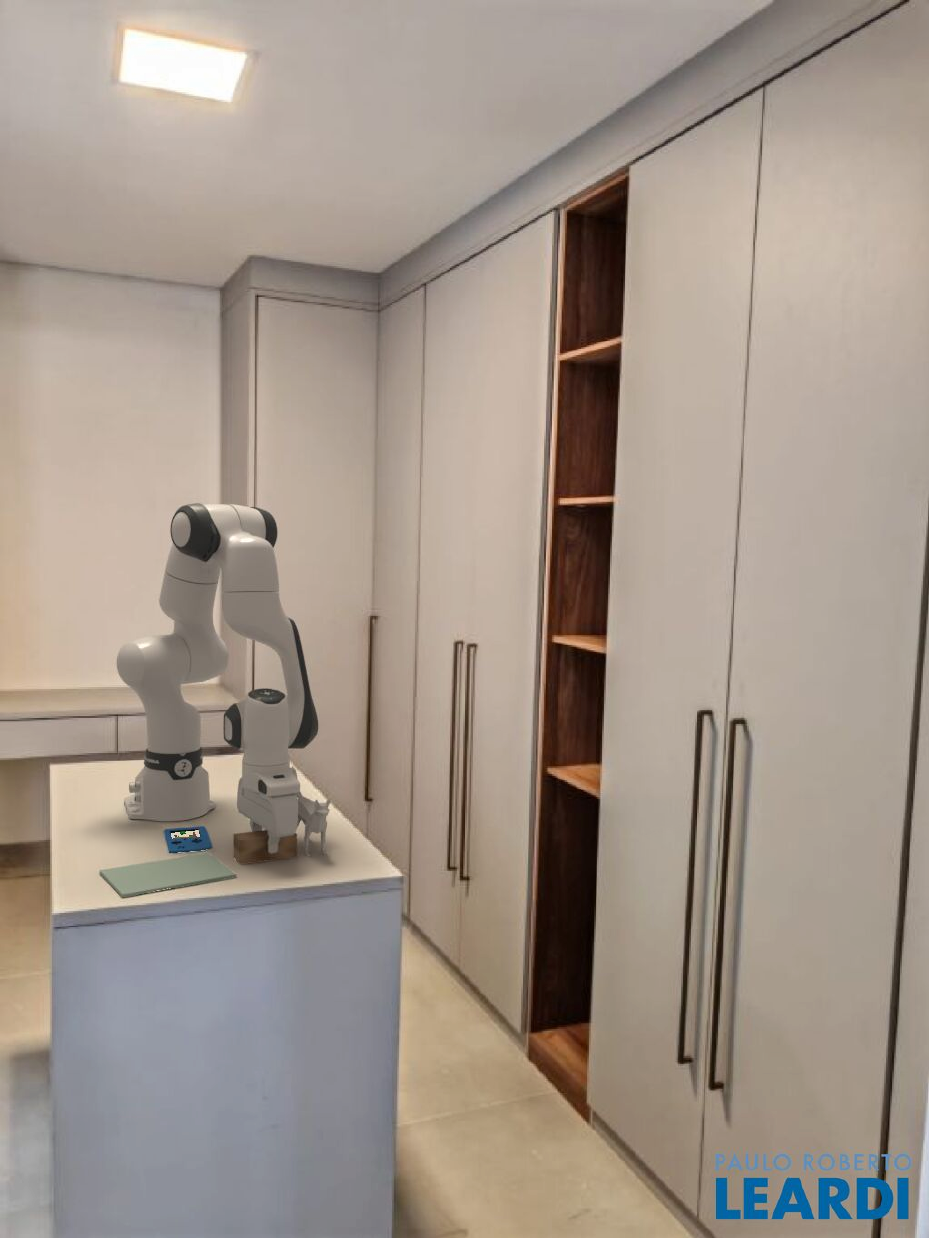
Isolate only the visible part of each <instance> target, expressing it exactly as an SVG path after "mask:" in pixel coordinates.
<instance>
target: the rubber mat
mask: <svg viewBox="0 0 929 1238" xmlns="http://www.w3.org/2000/svg"><path fill="white" fill-rule="evenodd" d="M99 874H100V876H101V877H102V878H103V879H104V880H105V881H106V882H107V883H108V884H109V886H111V887H112V888H113V890H114V891H115V892H116V893H117V892H118V893H117V894H118V895H119V896H120V897H121V898H122V897H125V898H129V897H135V896H136V895H137V896H140V895H139V894H142V895H145V894H144V893H148V892H153V891H157V890H163V889H167V888H168V889H169V888H175V889H180V888H179V887H181V888H184V887H183V886H186V887H191V886H190V885H192V886H197V885H202V883H203V884H207V882H208V883H212V882H213V881H214V882H219V881H225V880H229V878H230V879H235V878H237V873H236V872H234V871H233V870H232V869H230V868H229V867H227V866H226V865H225V864H223V862H221V861H220V860H218V859H217V858H215V856H213V855H212V854H210V853H209V852H203V853H202V852H201V853H197V854H190V855H186V856H179V857H178V856H177V857H172V858H165V859H159V860H154V861H149V862H141V863H135V864H129V865H123V866H118V867H117V866H116V867H112V868H105V869H99ZM224 879H225V880H224ZM196 884H197V885H196ZM153 893H154V892H153ZM148 894H149V893H148Z"/></svg>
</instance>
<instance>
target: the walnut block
mask: <svg viewBox="0 0 929 1238" xmlns="http://www.w3.org/2000/svg"><path fill="white" fill-rule="evenodd" d="M262 830H263V831H254V832H252V831H248V832H239V833H233V837H232V840H233V843H232V845H233V846H232V847H233V848H232V852H233V853H232V858H235V859H236V860H235V859H234V860H235V861H236V863H238V864H239V865H244V864H252V863H259V862H260V863H261V862H269V861H276V860H283V859H291V858H297V850H298V845H297V844H298V843H297V842H298V836H297V835H298V834H297V832H295V834H294V835H291V836H286V837H280V840H279V842H278V851H277V852H276V853H269V852H268V851H266V842H268V839H269V836H268V831H267V830H266V829H262Z"/></svg>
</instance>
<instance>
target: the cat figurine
mask: <svg viewBox="0 0 929 1238" xmlns="http://www.w3.org/2000/svg"><path fill="white" fill-rule="evenodd" d="M290 768H291V769H292V772H293V774H294V775H295V777H296V778H297V779H298V773H297V770H296V768H294V766H292V765H291V767H290ZM295 794H296V795H297V798H298V823H297V829H298V827H299V825H300V823H301V822H302V823H303V825H304V839H303V841H304V855H305V856H307V857H310V856H311V855H310V854H309V852H308V850H309V843H312V842H313V840H312V839H310V837H311V834H312V833H314V834H318V833H319V834H320V844H321V846H320V847H321V854H323V855H326V854H327V853H326V851H325V843H326V837H327V836H326V832H327V826H328V821H327V816H328V815H329V813H330V809H329V806H330V804H332V803H331V802H332V801H331V800H330V799H329V798H327V799H326V801H325V802H319V801H318V799H316V800H315V801H314V800H311V799H310V798H307V797H305V796H304V795H303V794H302V792H301V791H300V792H299V793H295Z"/></svg>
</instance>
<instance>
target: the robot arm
mask: <svg viewBox="0 0 929 1238" xmlns="http://www.w3.org/2000/svg"><path fill="white" fill-rule="evenodd" d="M169 532H170V538H171V542H172V545H171V547H170V551H169V554H168V557H167V560H166V566H165V569H164V574H163V579H162V584H161V585H162V586H161V587H160V588H161V589H160V593H159V599H158V601H159V602H158V603H159V607H160V609H161V611H162V612H163V613H164V615H166V617H168V618H169V619H170V620H173V631H172V633H170V634H161V635H149V636H143V637H139V638H136V639H132V640H130V641H128V642H125V643H124V644H123V645H121V647H120V649H119V651H118V654H117V657H116V669H117V673H118V675H119V677H120V679H121V680H122V681H123V682H124V684H126V685H127V686H128V687H129V688H131V689H132V690H133V691H134V692H135V693H136V694H137V696H138V698H139V699H140V701H141V703H142V705H143V706H142V707H143V708H144V713H145V718H146V731H147V732H146V733H147V735H146V738H147V740H146V742H147V748H146V749H145V753H144V756H143V759H144V761H143V765H144V767H143V768H142V769H141V771H140V772H139V773H138V774H137V775H136V777H135V779H134V781H132V782H129V784H128V791H129V793H130V794H133V795H129V796H126V797H124V800H123V803H124V805H125V809H126V811H127V814H128V817H129V819H132V820H148V821H149V820H150V821H157V822H175V821H176V822H177V821H186V820H192V819H195V818H199V817H202V816H205V815H206V814H207V813H208V812H210V810H214V809H216V808H217V802H215V801H212V800H211V795H210V790H211V789H210V775H209V772H208V771H207V770H206V769H205V768H204V767H203V766H202V765H203V764H204V762H203V760H204V759H203V758H204V752H203V747H202V746H201V731H202V729H201V721H202V718H201V717H202V716H201V714H200V712H199V710H198V708H197V707H195V706H194V705H193V704H191V703H189V702H187V701H185V700H184V697H183V694H182V690H181V686H182V685H189V684H197V683H203V682H207V681H209V680H212V679H214V678H217V677H220V676H221V675H222V674H223V673H224V672H225V671H226V670H227V667H228V665H229V657H230V655H229V649H228V647H227V644H226V642H225V641H224V640H223V639H222V637H221V636H220V635H219V634H218V633H217V631H216V628H215V625H214V606H215V600H216V596H217V595H216V594H217V590H218V584H219V579H220V574H221V604H222V605H221V607H222V608H221V609H222V615H223V618H224V621H225V622H226V624H227V625H228V627H229V628H230V629H231V630H232V631H234V632H235V633H237V634H238V635H240V636H242V637H243V638H246V639H248V640H252V641H255V642H258V643H261V644H263V645H265V646H268V647H269V648H271V649H272V650H273V651H275V652H276V654H277V655H278V657H279V659H280V663H281V668H282V673H283V677H284V679H283V680H284V684H285V689H286V694H287V695H286V694H285V693H284V692H282V691H280V690H278V689H275V688H274V689H272V688H268V687H267V688H264V687H263V688H255V689H253V690H250V691H249V692H248V693H247V694H246V695H245V697H244V700H242V701H238V702H234V703H233V704H232V705H230V706H229V707H228V708H227V710H226V711H225V712H224V714H223V740H224V741H225V742H226V743H227V744H228V746H230V747H232V749H235V750H239V751H243V755H242V756H243V757H242V761H241V765H242V766H241V767H242V769H241V777H240V778H239V780H238V784H237V785H238V786H237V797H236V798H237V799H236V808H237V812H238V813H239V814H240V815H242V816H244V817H245V818H247V819H249V825H250V830H251V832H254V831H263V830H267V831H268V836H269V839H268V842H266V851H268V852H269V853H276V852H277V851H278V842H279V840H280V837H286V836H291V835H294V834H295V833H297V832H296V831H297V829H298V828H297V823H298V798H297V795H296V794H295V793H299V792H301V783H300V781H299V780H298V777H297V778H296V777H295V775H294V774H293V772H292V769H291V768H292V767H290V766H291V764H290V763H291V758H290V754H289V749H292V750H293V749H295V750H297V749H305V748H306V747H308V746H309V744H311V743H312V742H313V741H314V739H315V738H316V737H317V735H318V733H319V719H318V714H317V709H316V707H315V703H314V699H313V696H312V691H311V687H310V681H309V676H308V671H307V667H306V666H307V665H306V660H305V654H304V649H303V644H302V640H301V636H300V633H299V629H298V626H297V623H296V622H295V621H294V620H293V619H292V618H290V617H289V616H288V615H287V614H286V613H285V611H284V609H283V606H282V604H281V603H282V602H281V600H280V584H279V583H280V581H279V573H278V565H277V560H276V559H277V558H276V555H275V549H274V547H275V545H276V543H277V541H278V540H277V539H278V525H277V521H276V520H275V517H274V516H273V515H272V513H271V512H269V511H267V510H265V509H263V508H259V507H257V506H250V507H249V506H245V505H240V504H234V503H223V504H221V503H207V504H205V503H204V504H203V503H199V502H198V503H197V502H196V503H189V504H185V505H182V506H180V507H179V508H178V509H176V511H175V513H174V515H173V516H172V519H171V522H170V531H169Z"/></svg>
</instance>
